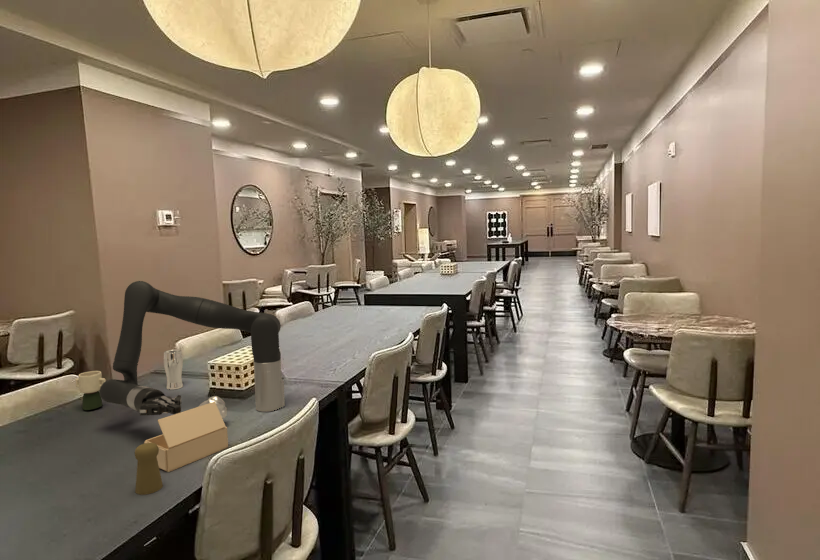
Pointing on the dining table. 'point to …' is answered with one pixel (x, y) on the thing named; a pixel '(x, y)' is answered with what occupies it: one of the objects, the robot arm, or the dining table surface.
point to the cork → (147, 469)
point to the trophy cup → (90, 389)
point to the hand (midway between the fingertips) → (178, 410)
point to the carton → (189, 449)
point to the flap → (191, 424)
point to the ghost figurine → (219, 403)
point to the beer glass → (173, 368)
